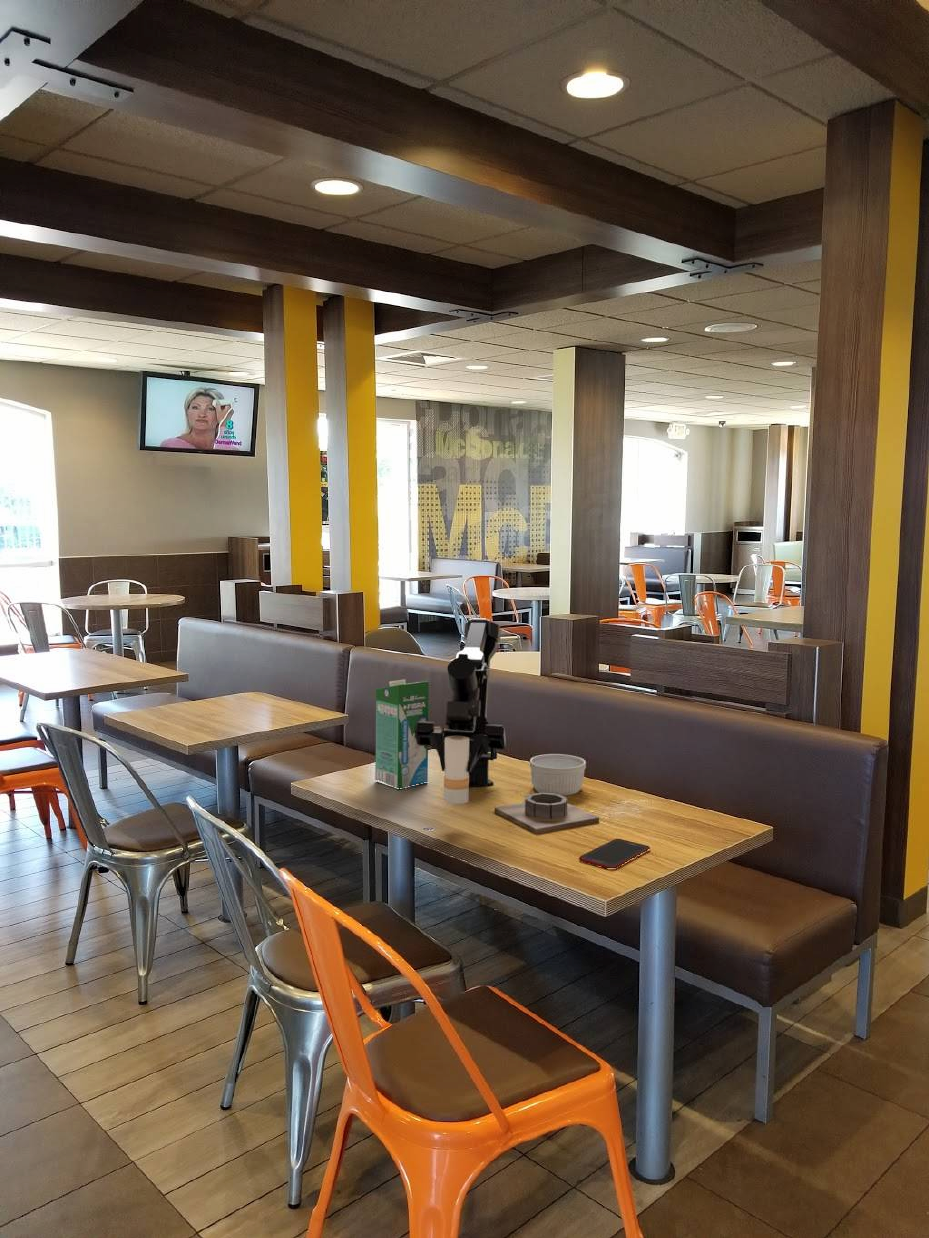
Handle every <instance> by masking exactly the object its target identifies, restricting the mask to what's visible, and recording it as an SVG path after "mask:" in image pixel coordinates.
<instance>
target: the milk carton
mask: <svg viewBox="0 0 929 1238" xmlns="http://www.w3.org/2000/svg"><path fill="white" fill-rule="evenodd" d="M429 682H430V681H429V680H425V681H418V682H410V683H406V679H405V678H404V679H399V680H398V679H397V680H391V681H389V683H388V684H389V686H385V687H380V688H375V763H374V764H375V769H374V771H375V773H374V774H375V775H374V776H375V780H379V781H382V782H384V783H386V784H388V785H391V786H393V787H396V788H399V789H400V788H405V787H408V786H412V785H416V784H421V783H424V782H428V783H429V780H428V778H429V777H428V775H429V774H428V773H429V767H428V766H429V746H420V745H418V744H417V741H416V737H415V733H414V729H415V724H416V723H417V722H419V721H425V722H429V699H430V698H429V696H430V693H429V688H430V687H429V686H430V685H429ZM375 780H374V781H375ZM405 789H406V788H405Z"/></svg>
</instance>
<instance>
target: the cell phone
mask: <svg viewBox="0 0 929 1238" xmlns="http://www.w3.org/2000/svg"><path fill="white" fill-rule="evenodd" d="M648 849H650V850H651V847H650V846H649V845H646V844H641V843H638V842H635V841H631V840H626V839H622V838H615V839H612V840H610V841H608V842H606V843H604V844H601V845H600V846H598V847H596V848H594V849H592V850H590V851H588V852H586V853H584V854H582V855H580V856H579V857H578V861H579V860H580V861H583V862H586V863H585V864H588V863H590V864H596V865H598V866H601V867H603V868H606V869H607V868H617V867H619V866H621V865H622V864H624V863H625V862H627V861H628V860H630V859H632V858H635V857H636V856H637V855H640V854H641V853H643V852H645V851H647V850H648ZM580 861H579V862H580ZM583 862H582V863H583ZM590 864H589V865H590ZM596 865H595V866H596ZM601 867H600V868H601ZM621 867H622V866H621Z"/></svg>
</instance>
